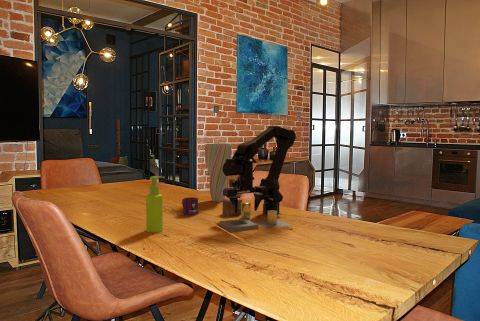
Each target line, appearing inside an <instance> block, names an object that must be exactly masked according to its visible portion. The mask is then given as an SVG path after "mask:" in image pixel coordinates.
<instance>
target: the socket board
mask: <svg viewBox="0 0 480 321" xmlns="http://www.w3.org/2000/svg"><path fill="white" fill-rule="evenodd" d="M218 225H219V226H218V227H220V228H221V229H223V230H225V231H227V232H228V233H230V234H232V232H243V231H249V230H256V229H259V225H258V224H256V223H254V221H251V220H250V219H241V218H239V219H228V220H219V221H218Z"/></svg>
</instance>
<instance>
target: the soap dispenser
mask: <svg viewBox="0 0 480 321" xmlns="http://www.w3.org/2000/svg"><path fill="white" fill-rule="evenodd" d="M160 178H162V176H161V175H153V176H150V177H149V180H151V184H149V187H148V188H149V193H148V194H146V195H145V211H146V212H145V213H146V214H145V217H146V220H145V221H146V222H145V223H146V225H145V226H146V231H145V232H147V233H153V234H154V233H160V232H162V231H163V230H164V226H163V224H164V222H163V220H164V219H163V217H164V215H163V211H164V210H163V209H164V206H163V205H164V204H163V200H164V199H163V194H160V186H159V185H158V183H157V179H160Z"/></svg>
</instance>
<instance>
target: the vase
mask: <svg viewBox="0 0 480 321" xmlns="http://www.w3.org/2000/svg"><path fill="white" fill-rule="evenodd" d="M204 157H205V158H204V159H205V164H206V165H205V166H206V168H207V172H208V176H209V193H210V198H211V200H210V201H212V202H217V203H219V202H223V198H226V196H224V195H223V190H224V188H227V180H228V179H227V178H228V176H225V175H224V173H223V169H222V168H223V165H224V163H225V162H226V159H232V144H231V143H220V142H217V143H216V142H214V143H206V144H204Z"/></svg>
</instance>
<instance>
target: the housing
mask: <svg viewBox="0 0 480 321" xmlns="http://www.w3.org/2000/svg"><path fill="white" fill-rule="evenodd" d="M242 202H243V199H242V198H239V197H238V206H237V213H235V211H234V209H233V206H232V203H231V201H230V199H229V198H227V197H225V198H223V201H222V215H224V216H226V217H231V216H233V217H234V216H241V203H242Z"/></svg>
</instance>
